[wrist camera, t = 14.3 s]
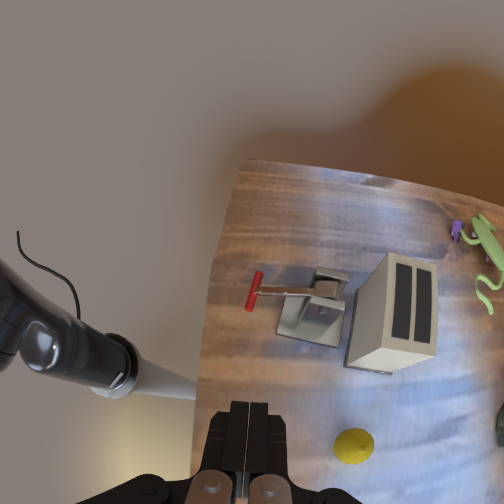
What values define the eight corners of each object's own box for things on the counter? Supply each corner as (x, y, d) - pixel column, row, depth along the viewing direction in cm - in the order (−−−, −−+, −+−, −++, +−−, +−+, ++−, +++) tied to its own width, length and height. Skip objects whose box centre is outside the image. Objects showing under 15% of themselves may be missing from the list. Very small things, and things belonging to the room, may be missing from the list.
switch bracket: (275, 334, 44) (283, 308, 33) (287, 289, 48) (297, 250, 37) (336, 348, 43) (364, 326, 31) (344, 302, 46) (371, 268, 35)
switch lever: (248, 313, 41) (240, 306, 40) (259, 277, 44) (252, 269, 43) (336, 319, 34) (331, 311, 33) (343, 277, 37) (338, 267, 35)
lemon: (328, 427, 36) (344, 432, 29) (362, 425, 36) (383, 428, 29) (326, 460, 33) (341, 470, 26) (360, 457, 33) (380, 465, 26)
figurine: (467, 322, 43) (484, 312, 38) (438, 212, 56) (449, 197, 52) (516, 315, 43) (531, 306, 38) (487, 219, 56) (498, 206, 51)
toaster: (343, 367, 41) (378, 349, 29) (355, 290, 47) (387, 248, 35) (390, 374, 40) (438, 358, 27) (398, 300, 46) (439, 262, 34)
